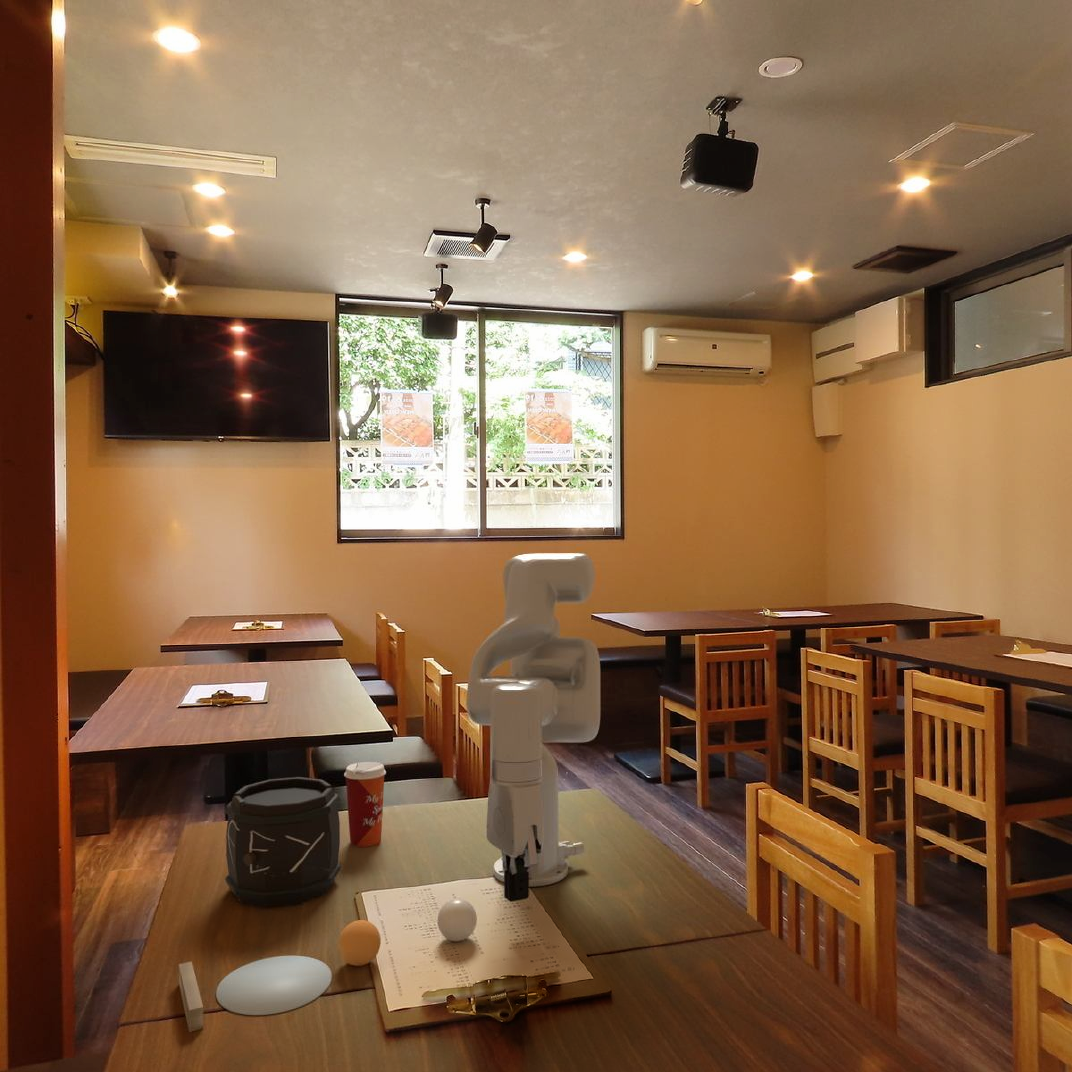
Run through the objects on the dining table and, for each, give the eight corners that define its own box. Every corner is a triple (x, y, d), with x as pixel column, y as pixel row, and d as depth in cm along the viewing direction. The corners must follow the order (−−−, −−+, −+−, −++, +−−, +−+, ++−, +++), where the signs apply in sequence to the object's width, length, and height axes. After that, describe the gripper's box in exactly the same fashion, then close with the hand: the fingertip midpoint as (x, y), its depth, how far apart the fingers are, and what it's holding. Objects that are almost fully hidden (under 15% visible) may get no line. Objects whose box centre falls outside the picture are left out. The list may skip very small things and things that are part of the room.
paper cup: (377, 850, 154) (376, 773, 154) (337, 847, 156) (337, 771, 156) (393, 835, 162) (392, 761, 162) (355, 832, 164) (354, 759, 164)
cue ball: (467, 927, 124) (467, 889, 124) (483, 942, 119) (482, 903, 119) (431, 935, 121) (431, 897, 121) (446, 952, 116) (446, 911, 116)
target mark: (317, 948, 118) (317, 946, 118) (344, 996, 106) (344, 994, 106) (209, 973, 111) (209, 971, 111) (225, 1027, 99) (225, 1025, 99)
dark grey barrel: (198, 903, 133) (197, 802, 133) (271, 861, 150) (270, 771, 150) (295, 920, 127) (294, 814, 127) (360, 874, 144) (359, 781, 144)
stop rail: (191, 981, 109) (191, 961, 109) (203, 1028, 99) (203, 1006, 99) (179, 984, 109) (178, 964, 109) (189, 1032, 98) (189, 1010, 98)
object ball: (373, 949, 117) (373, 909, 117) (386, 967, 112) (386, 925, 112) (333, 959, 115) (333, 918, 115) (345, 977, 110) (344, 935, 110)
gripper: (471, 762, 129) (471, 886, 128) (516, 784, 116) (516, 922, 115) (516, 757, 133) (516, 877, 132) (564, 778, 119) (564, 911, 119)
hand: (516, 898), depth 123 cm, fingers closed
